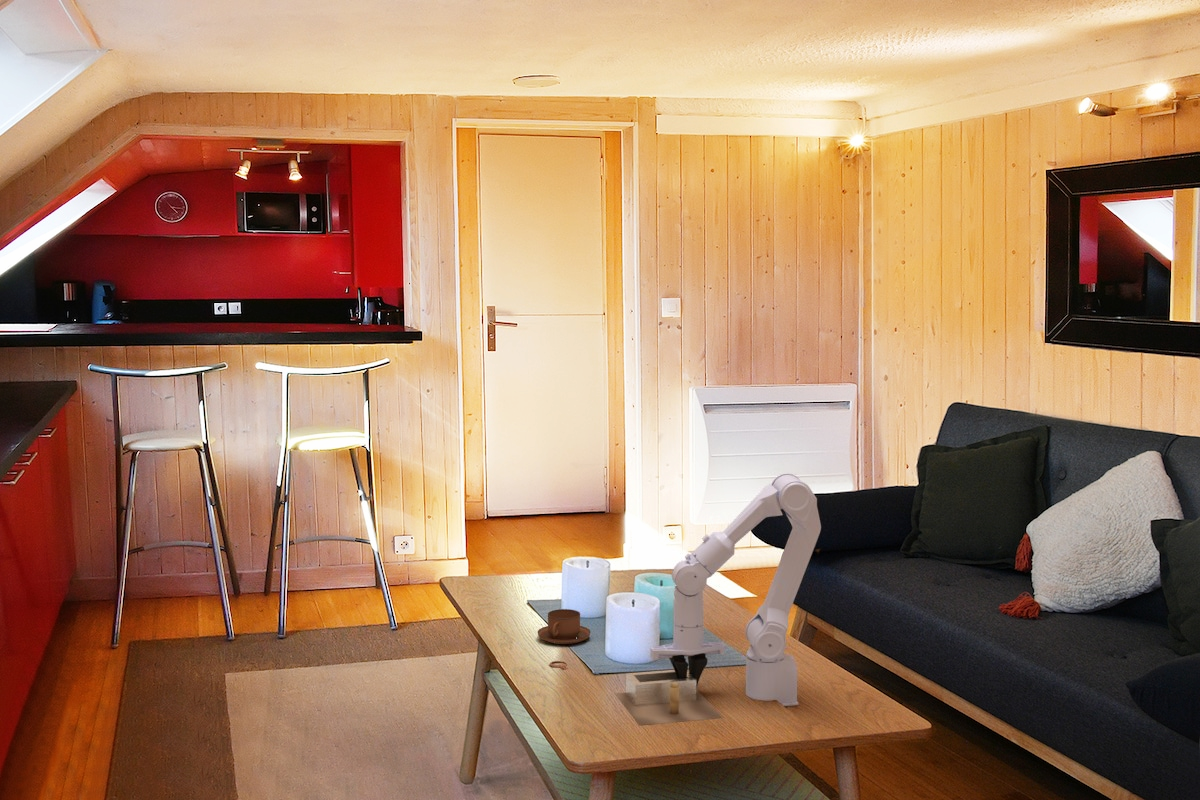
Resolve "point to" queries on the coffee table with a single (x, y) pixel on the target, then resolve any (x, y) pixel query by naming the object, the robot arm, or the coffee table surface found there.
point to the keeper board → (664, 709)
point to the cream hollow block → (658, 687)
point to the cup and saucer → (564, 627)
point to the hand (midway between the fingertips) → (687, 692)
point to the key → (559, 665)
